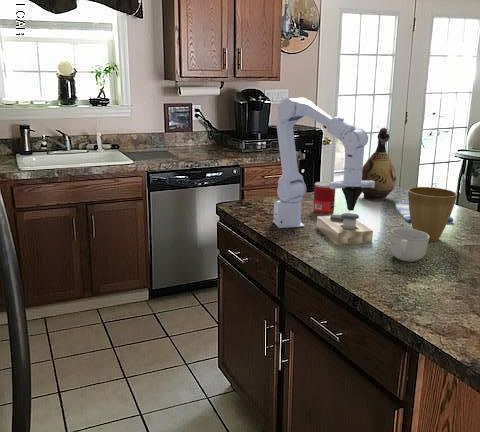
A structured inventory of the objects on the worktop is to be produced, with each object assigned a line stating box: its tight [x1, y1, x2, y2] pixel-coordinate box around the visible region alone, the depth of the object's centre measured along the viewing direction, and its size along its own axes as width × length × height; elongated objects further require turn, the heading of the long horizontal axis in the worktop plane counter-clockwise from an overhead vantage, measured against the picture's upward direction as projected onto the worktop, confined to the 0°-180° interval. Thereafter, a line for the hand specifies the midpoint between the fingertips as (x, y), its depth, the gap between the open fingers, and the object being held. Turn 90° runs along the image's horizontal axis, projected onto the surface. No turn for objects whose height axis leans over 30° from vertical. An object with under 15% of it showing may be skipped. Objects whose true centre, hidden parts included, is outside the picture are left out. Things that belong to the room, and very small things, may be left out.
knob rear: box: [330, 214, 344, 222], centre depth 180 cm, size 6×6×4 cm
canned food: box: [313, 181, 336, 215], centre depth 204 cm, size 8×8×11 cm
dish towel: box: [394, 201, 454, 225], centre depth 202 cm, size 17×24×3 cm
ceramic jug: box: [361, 127, 397, 202], centre depth 223 cm, size 17×15×30 cm
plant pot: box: [407, 186, 458, 243], centre depth 171 cm, size 15×15×16 cm
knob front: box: [340, 212, 360, 230], centre depth 171 cm, size 6×6×4 cm
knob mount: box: [316, 215, 374, 246], centre depth 176 cm, size 12×19×4 cm, turn 12°
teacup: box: [389, 227, 430, 263], centre depth 153 cm, size 14×11×8 cm
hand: (350, 209), depth 170 cm, fingers closed
